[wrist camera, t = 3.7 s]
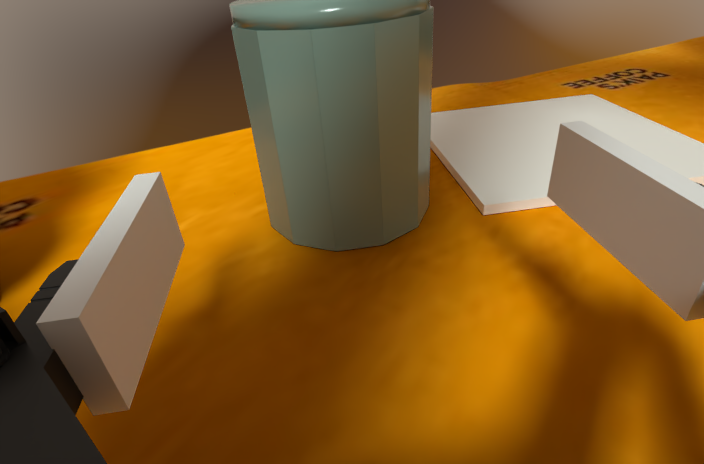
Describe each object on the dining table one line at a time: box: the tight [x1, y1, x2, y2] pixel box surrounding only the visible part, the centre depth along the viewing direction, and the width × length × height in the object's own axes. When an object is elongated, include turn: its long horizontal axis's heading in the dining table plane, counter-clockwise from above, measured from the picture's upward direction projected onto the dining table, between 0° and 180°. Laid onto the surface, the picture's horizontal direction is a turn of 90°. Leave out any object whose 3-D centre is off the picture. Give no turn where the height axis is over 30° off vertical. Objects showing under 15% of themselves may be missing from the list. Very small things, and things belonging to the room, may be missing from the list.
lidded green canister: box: [229, 0, 433, 251], centre depth 23 cm, size 9×9×11 cm
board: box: [430, 94, 704, 215], centre depth 31 cm, size 16×16×1 cm
